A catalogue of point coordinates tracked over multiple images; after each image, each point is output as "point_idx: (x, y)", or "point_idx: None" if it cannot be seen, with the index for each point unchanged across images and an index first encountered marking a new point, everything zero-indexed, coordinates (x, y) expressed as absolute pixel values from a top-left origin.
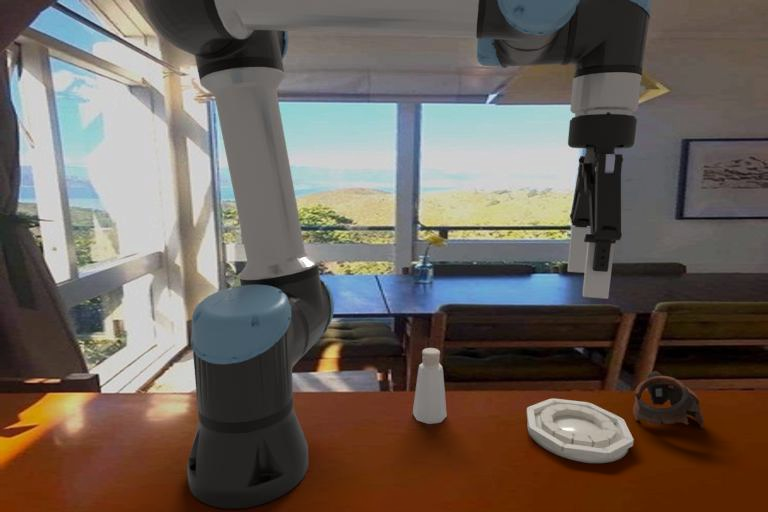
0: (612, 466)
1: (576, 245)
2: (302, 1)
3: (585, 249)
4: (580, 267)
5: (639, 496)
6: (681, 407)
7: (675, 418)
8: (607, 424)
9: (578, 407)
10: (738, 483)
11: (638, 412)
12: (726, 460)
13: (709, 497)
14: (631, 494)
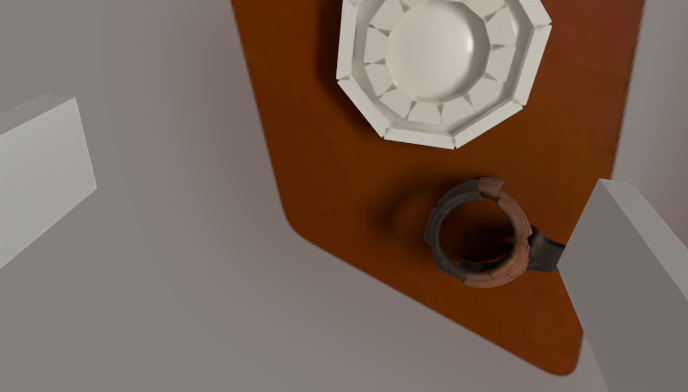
0: None
1: (662, 333)
2: None
3: (616, 355)
4: (580, 251)
5: (271, 95)
6: (430, 245)
7: (428, 226)
8: (428, 111)
9: (498, 75)
10: (326, 231)
11: (476, 183)
12: (376, 245)
13: (290, 183)
14: (273, 85)
